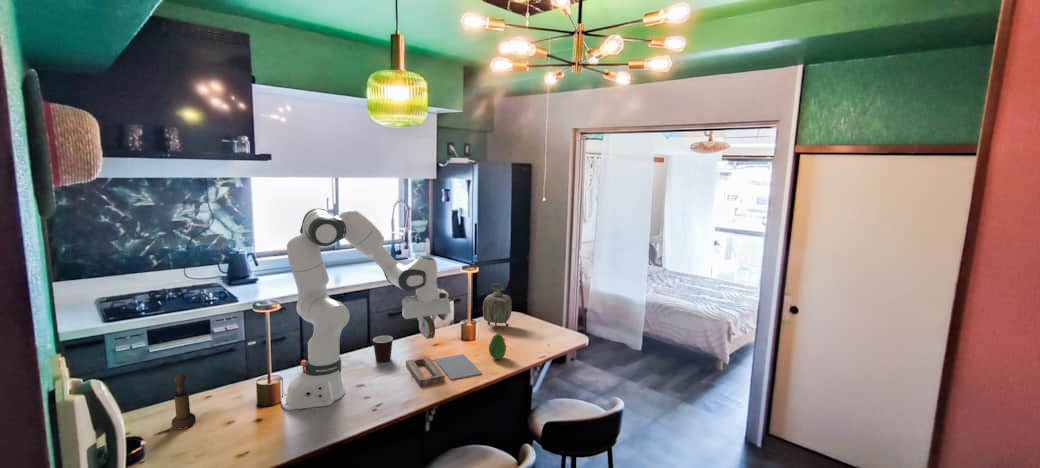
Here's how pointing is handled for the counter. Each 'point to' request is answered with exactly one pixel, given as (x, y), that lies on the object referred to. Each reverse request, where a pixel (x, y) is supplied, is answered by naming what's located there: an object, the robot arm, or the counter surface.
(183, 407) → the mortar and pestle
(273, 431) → the counter surface
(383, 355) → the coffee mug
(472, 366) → the mat
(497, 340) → the avocado
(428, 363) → the frame
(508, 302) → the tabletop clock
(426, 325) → the tin
